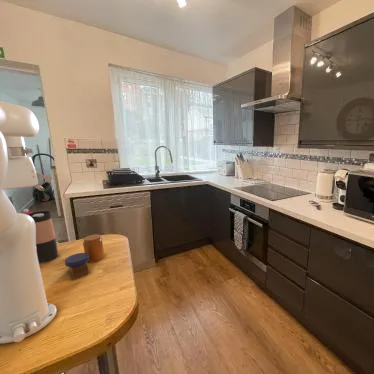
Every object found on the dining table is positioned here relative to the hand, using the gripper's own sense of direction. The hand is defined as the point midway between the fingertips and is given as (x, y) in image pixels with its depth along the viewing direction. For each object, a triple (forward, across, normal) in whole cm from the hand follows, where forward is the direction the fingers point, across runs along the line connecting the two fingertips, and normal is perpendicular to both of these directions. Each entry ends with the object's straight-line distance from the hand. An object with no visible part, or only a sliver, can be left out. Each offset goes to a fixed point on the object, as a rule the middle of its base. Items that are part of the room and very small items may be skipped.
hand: (21, 204), depth 72 cm
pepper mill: (+28, -1, -28) cm, 40 cm away
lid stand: (+28, -11, +5) cm, 31 cm away
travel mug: (+28, -4, -16) cm, 33 cm away
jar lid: (+23, -11, +5) cm, 26 cm away
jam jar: (+28, -18, -2) cm, 34 cm away
